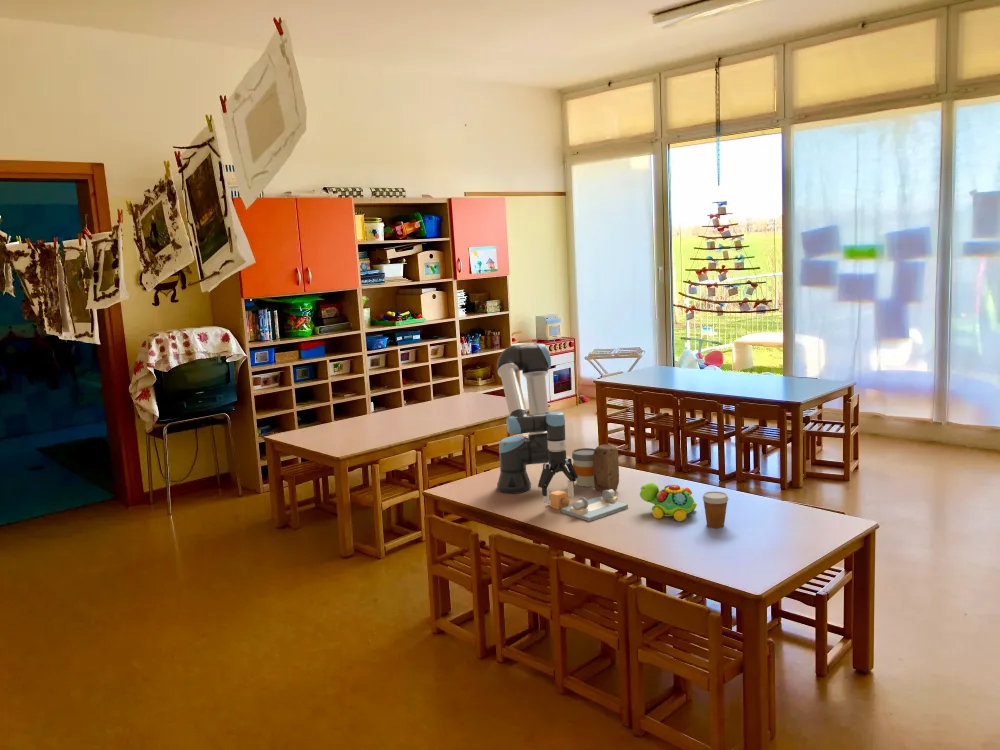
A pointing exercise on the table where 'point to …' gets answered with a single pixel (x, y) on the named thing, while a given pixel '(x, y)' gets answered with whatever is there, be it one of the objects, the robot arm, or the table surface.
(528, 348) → the robot arm
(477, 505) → the table surface
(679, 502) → the turtle toy
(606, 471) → the block
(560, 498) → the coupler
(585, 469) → the reusable coffee cup
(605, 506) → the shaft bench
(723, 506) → the disposable coffee cup
